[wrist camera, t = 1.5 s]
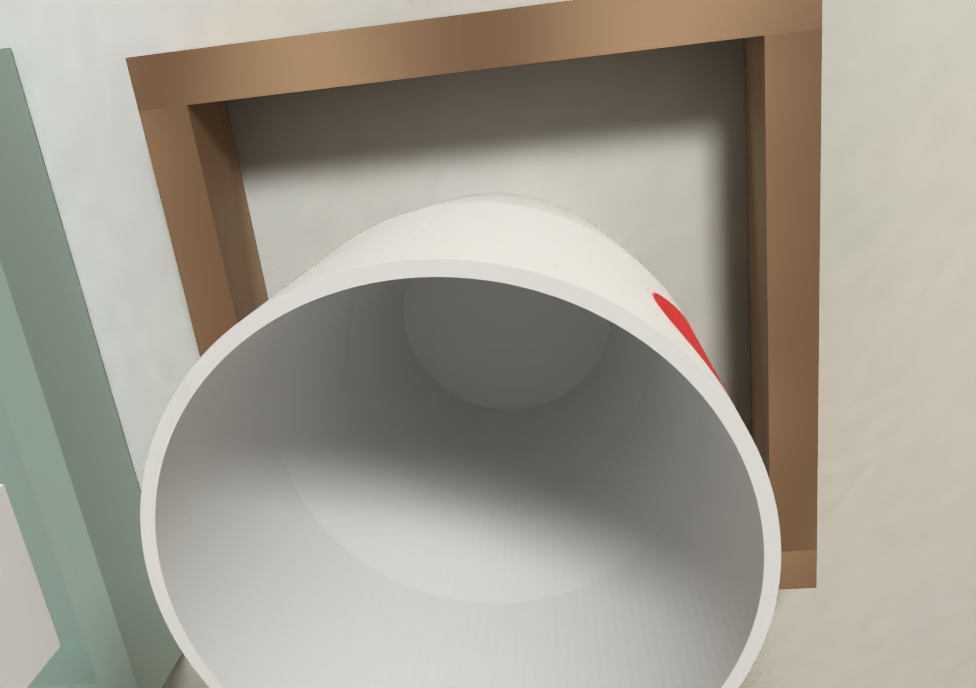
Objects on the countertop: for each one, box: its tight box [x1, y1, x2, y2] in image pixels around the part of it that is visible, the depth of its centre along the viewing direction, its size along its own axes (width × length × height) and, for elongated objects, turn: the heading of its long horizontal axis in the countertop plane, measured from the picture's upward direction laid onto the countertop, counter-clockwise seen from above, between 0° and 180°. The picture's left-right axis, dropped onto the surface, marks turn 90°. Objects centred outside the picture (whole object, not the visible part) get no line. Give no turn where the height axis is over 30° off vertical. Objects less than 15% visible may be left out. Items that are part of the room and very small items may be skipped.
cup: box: [140, 193, 781, 688], centre depth 16 cm, size 8×8×10 cm
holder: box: [126, 0, 822, 589], centre depth 20 cm, size 13×13×2 cm
